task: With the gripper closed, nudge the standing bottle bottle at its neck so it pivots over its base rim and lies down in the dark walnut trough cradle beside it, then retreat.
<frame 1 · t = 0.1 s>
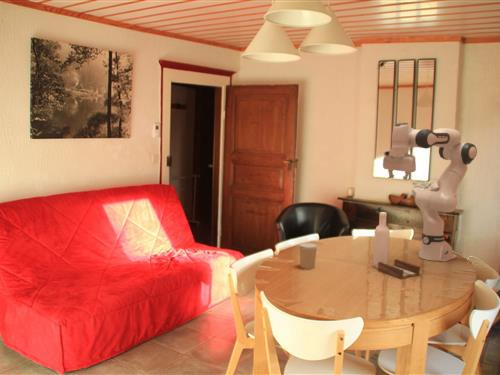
hand: (398, 178, 275), 48 cm above the table, fingers open, 8 cm apart
bottle: (380, 266, 278), on the table
cradle: (398, 272, 267), on the table
coffee cup: (307, 267, 275), on the table
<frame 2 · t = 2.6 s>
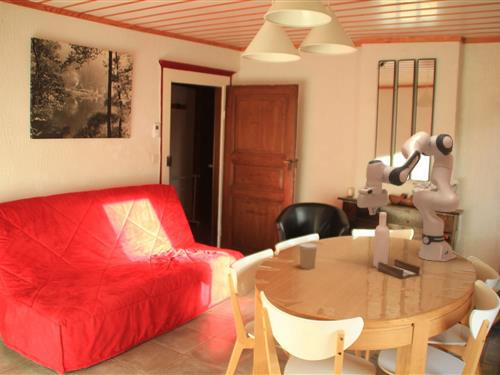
hand: (372, 214, 281), 27 cm above the table, fingers closed
nothing on the table moved.
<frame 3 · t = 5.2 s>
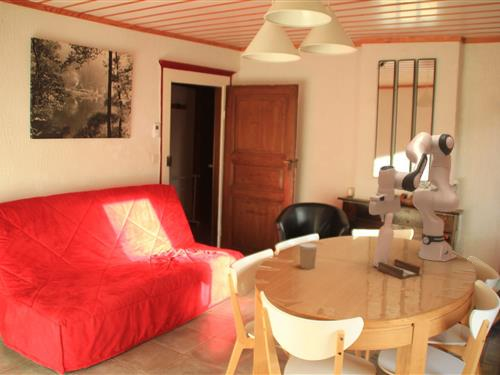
hand: (384, 221, 273), 25 cm above the table, fingers closed
bottle: (380, 265, 278), on the table, touching gripper
everything else where it was.
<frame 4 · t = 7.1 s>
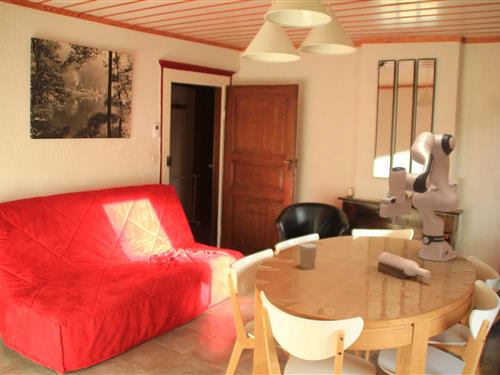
hand: (395, 224, 267), 25 cm above the table, fingers closed
bottle: (383, 258, 274), point 5 cm above the table, touching cradle
everything else where it was.
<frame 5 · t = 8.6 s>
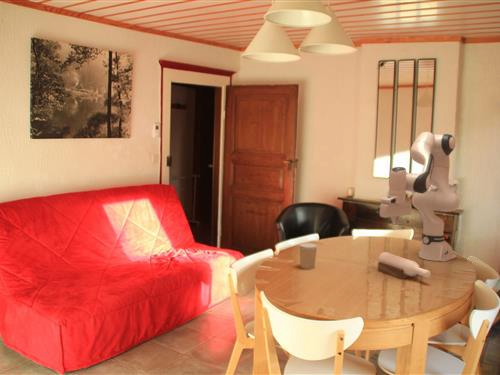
hand: (395, 224, 267), 25 cm above the table, fingers closed
nothing on the table moved.
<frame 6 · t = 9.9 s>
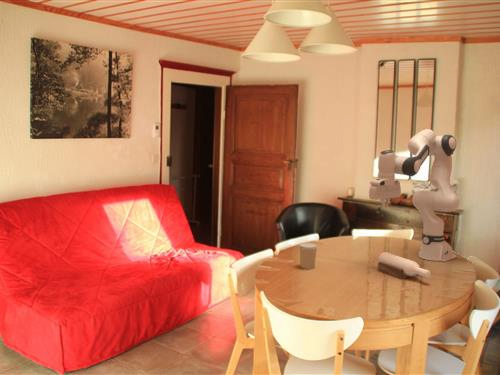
hand: (384, 206, 272), 33 cm above the table, fingers closed
nothing on the table moved.
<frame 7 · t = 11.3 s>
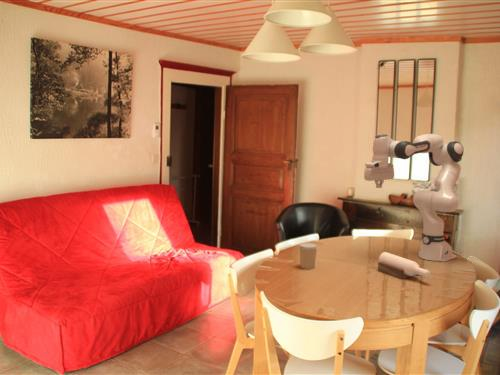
hand: (378, 187, 289), 41 cm above the table, fingers closed
nothing on the table moved.
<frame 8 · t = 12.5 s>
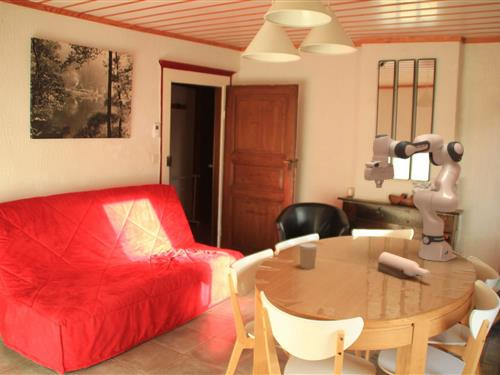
hand: (378, 187, 289), 41 cm above the table, fingers closed
nothing on the table moved.
at the end: bottle tilted 90°; bottle inside the target area (2.2 cm from its centre), point 5.3 cm above the table; bottle touching cradle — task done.
